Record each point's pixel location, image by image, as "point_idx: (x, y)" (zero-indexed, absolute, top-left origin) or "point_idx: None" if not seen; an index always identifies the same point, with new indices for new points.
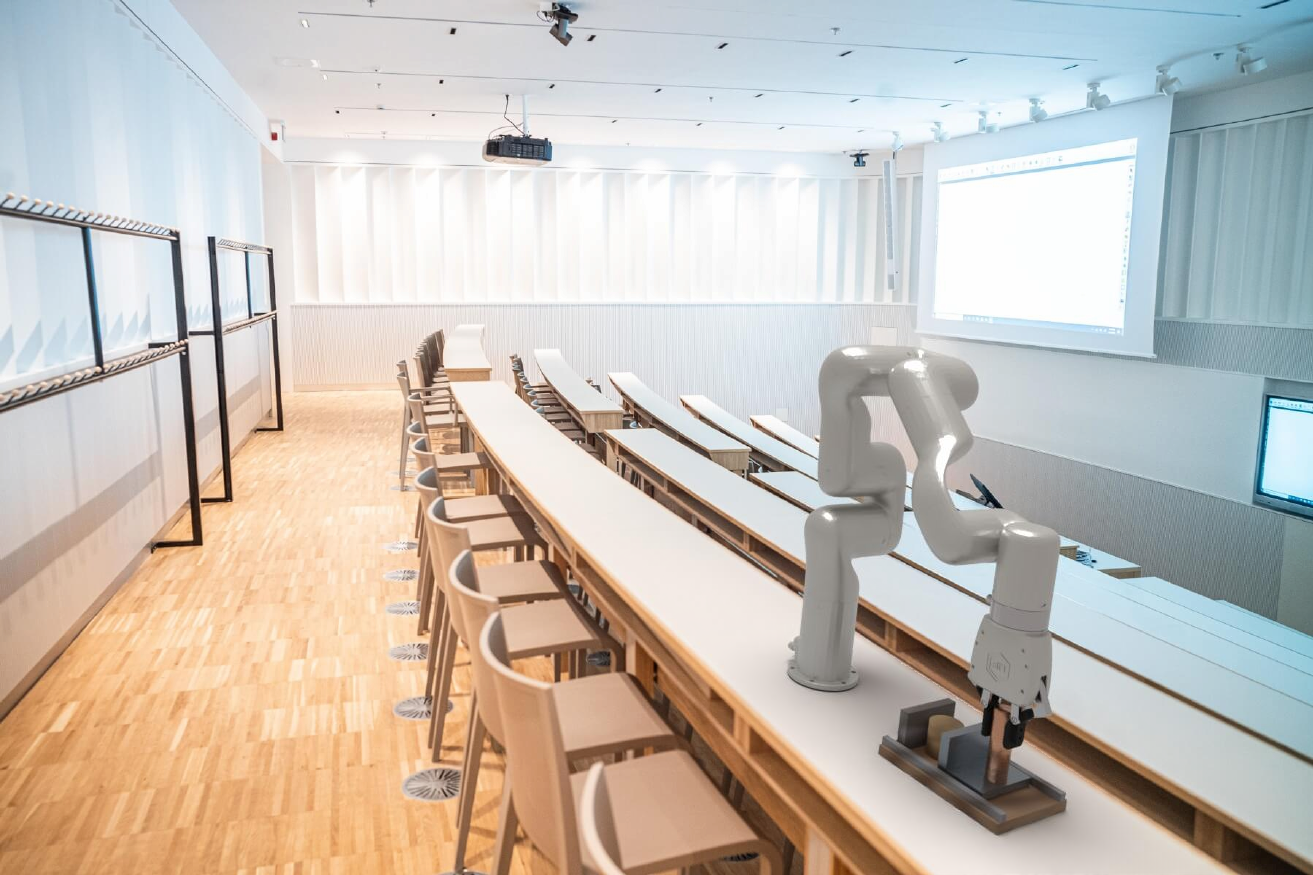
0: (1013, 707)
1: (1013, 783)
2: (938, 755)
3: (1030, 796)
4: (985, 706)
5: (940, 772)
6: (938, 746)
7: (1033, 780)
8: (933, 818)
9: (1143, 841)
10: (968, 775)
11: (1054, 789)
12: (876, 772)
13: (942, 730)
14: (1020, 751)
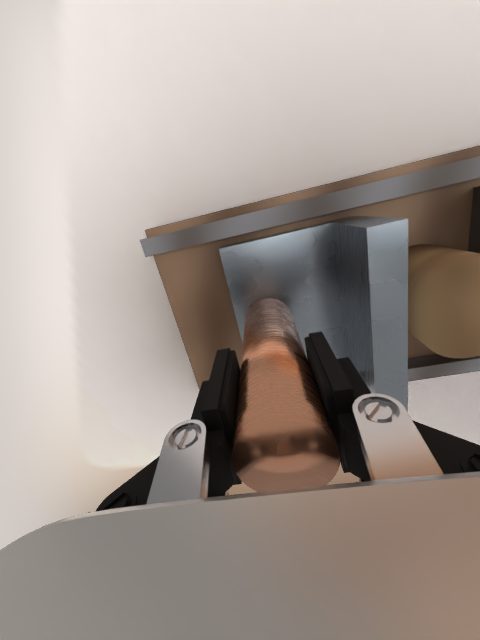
0: (186, 489)
1: (242, 342)
2: None
3: None
4: (365, 404)
5: (328, 202)
6: (418, 257)
7: None
8: (227, 121)
9: (130, 437)
10: (292, 264)
11: None
12: (444, 77)
13: (446, 270)
14: None
